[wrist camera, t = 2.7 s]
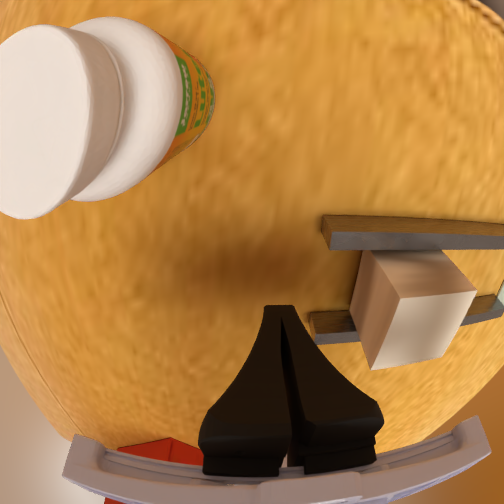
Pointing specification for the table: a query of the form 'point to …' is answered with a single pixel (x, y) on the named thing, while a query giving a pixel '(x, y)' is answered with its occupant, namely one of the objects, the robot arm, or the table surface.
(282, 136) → the table surface
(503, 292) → the pad
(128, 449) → the file binder
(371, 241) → the parallel grey rails
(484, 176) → the table surface
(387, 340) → the block
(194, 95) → the supplement bottle
